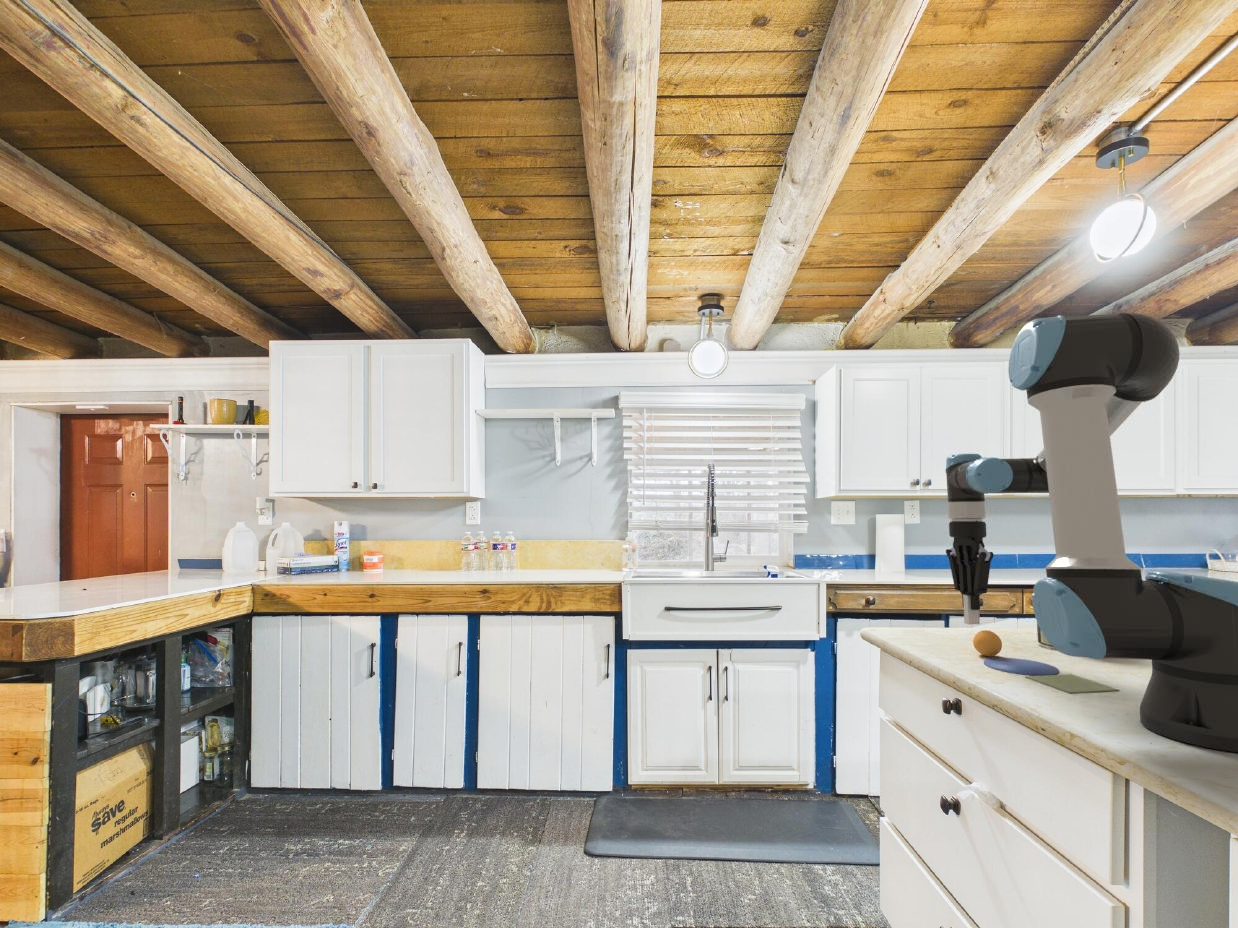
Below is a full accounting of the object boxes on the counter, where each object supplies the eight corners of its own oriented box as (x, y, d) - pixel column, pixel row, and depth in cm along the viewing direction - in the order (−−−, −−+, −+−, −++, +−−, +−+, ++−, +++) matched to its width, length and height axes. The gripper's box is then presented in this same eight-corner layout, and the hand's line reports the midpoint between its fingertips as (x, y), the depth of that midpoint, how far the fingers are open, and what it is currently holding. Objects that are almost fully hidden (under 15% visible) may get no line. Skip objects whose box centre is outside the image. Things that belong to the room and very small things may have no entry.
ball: (986, 654, 138) (1004, 662, 132) (964, 648, 137) (981, 655, 132) (992, 631, 138) (1010, 637, 133) (971, 624, 138) (988, 631, 132)
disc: (1072, 677, 118) (1072, 676, 118) (997, 673, 121) (997, 672, 121) (1041, 660, 131) (1041, 659, 131) (974, 657, 134) (974, 656, 134)
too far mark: (1119, 690, 110) (1119, 689, 110) (1070, 693, 108) (1070, 692, 108) (1071, 675, 120) (1071, 674, 120) (1025, 677, 118) (1025, 676, 118)
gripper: (1002, 520, 136) (1008, 628, 134) (962, 520, 149) (967, 618, 146) (972, 520, 135) (977, 629, 133) (934, 520, 148) (938, 619, 145)
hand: (972, 623), depth 140 cm, fingers closed
